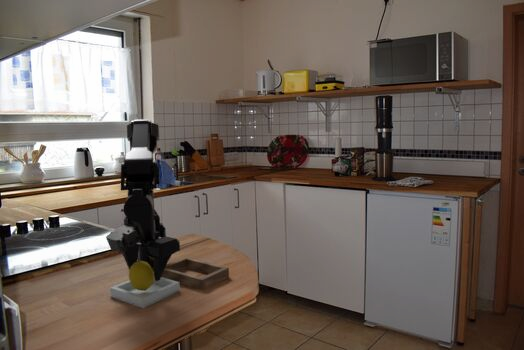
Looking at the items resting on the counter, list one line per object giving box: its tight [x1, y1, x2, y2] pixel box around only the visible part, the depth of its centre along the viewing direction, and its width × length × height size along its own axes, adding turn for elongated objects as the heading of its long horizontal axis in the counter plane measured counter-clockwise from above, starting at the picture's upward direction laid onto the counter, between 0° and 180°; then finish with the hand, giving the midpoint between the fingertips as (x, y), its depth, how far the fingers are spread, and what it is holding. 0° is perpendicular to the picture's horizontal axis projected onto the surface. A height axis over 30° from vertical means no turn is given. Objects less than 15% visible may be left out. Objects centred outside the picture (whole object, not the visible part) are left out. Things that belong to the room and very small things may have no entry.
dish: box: [109, 277, 181, 309], centre depth 102 cm, size 11×11×2 cm
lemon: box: [128, 260, 154, 291], centre depth 101 cm, size 6×6×8 cm
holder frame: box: [161, 256, 230, 291], centre depth 113 cm, size 15×10×2 cm, turn 55°
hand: (144, 276), depth 102 cm, fingers open, 8 cm apart
